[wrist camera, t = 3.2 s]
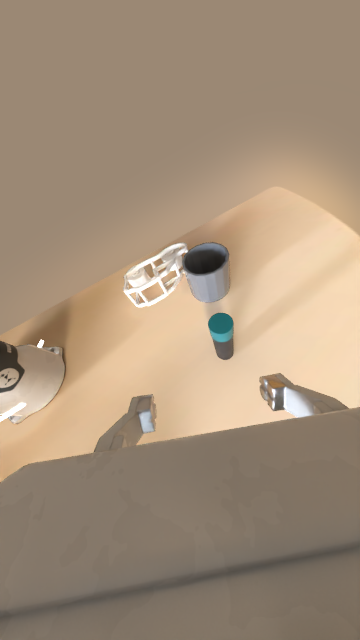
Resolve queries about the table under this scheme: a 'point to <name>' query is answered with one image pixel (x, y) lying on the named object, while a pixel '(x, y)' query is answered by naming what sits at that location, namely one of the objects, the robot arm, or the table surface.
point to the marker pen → (222, 334)
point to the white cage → (142, 280)
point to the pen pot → (207, 271)
